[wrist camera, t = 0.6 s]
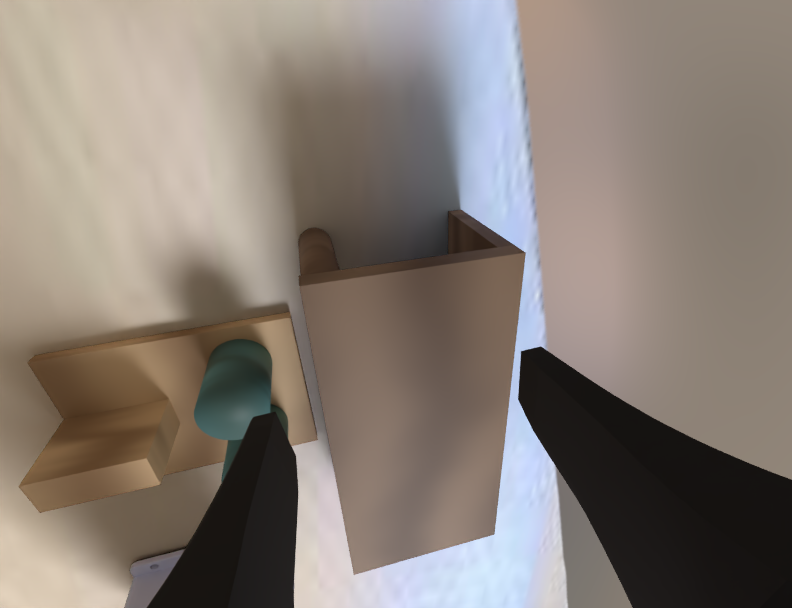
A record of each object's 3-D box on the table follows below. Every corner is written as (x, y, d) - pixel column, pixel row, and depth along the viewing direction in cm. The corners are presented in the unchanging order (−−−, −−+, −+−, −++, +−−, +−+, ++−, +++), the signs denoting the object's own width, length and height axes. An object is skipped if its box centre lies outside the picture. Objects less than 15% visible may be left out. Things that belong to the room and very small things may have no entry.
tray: (114, 473, 24) (76, 558, 19) (39, 350, 19) (-32, 424, 15) (316, 428, 26) (322, 495, 22) (289, 308, 21) (290, 362, 17)
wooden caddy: (340, 478, 28) (354, 574, 22) (295, 230, 19) (299, 286, 14) (454, 450, 29) (494, 534, 24) (461, 209, 21) (525, 252, 15)
